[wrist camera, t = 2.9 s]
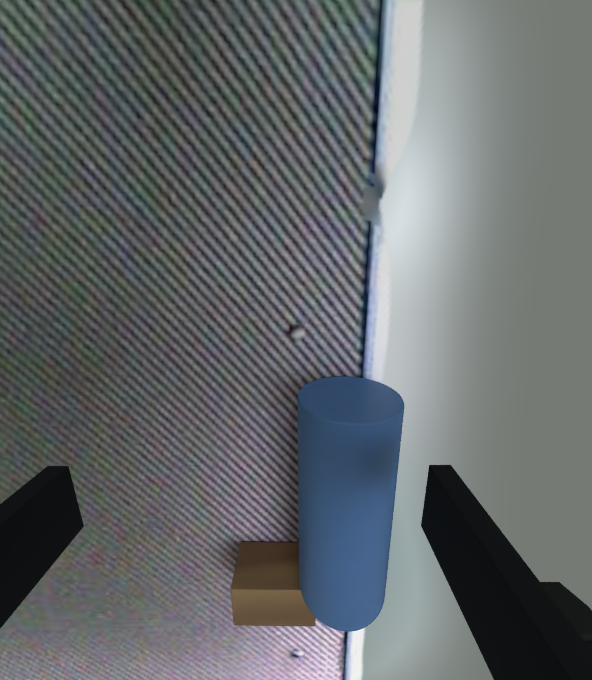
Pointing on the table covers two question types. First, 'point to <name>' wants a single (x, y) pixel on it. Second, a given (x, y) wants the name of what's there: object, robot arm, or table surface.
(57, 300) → the table surface
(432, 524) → the robot arm
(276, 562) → the brown rectangular block
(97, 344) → the table surface
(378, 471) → the tube
